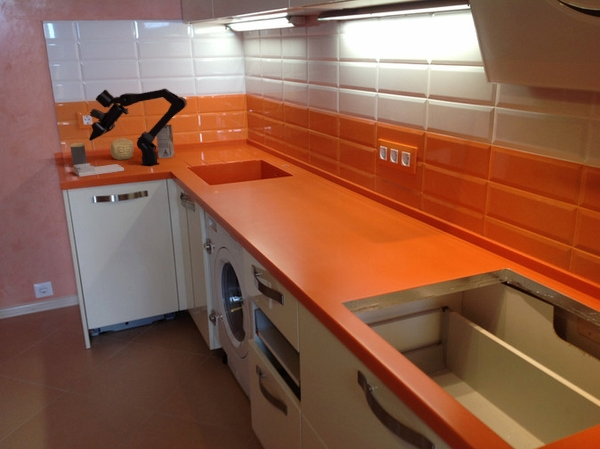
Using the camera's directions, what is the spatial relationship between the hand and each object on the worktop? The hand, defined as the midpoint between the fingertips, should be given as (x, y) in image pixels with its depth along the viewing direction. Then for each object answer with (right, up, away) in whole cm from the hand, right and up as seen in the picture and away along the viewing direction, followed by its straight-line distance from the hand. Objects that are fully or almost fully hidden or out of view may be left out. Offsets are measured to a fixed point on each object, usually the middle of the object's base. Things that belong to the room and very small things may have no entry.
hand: (92, 138), depth 263 cm
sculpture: (+8, -8, +20) cm, 23 cm away
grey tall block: (-8, -13, +4) cm, 16 cm away
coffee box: (+30, -6, +25) cm, 39 cm away
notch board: (+6, -17, -8) cm, 19 cm away
